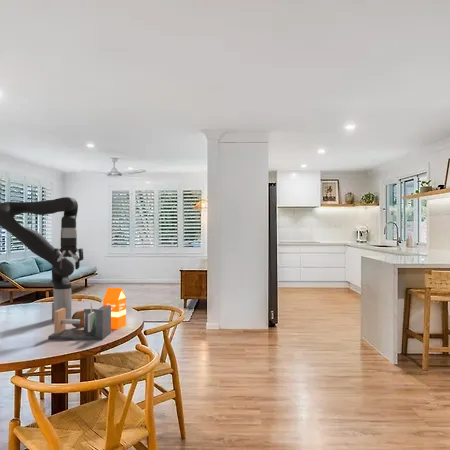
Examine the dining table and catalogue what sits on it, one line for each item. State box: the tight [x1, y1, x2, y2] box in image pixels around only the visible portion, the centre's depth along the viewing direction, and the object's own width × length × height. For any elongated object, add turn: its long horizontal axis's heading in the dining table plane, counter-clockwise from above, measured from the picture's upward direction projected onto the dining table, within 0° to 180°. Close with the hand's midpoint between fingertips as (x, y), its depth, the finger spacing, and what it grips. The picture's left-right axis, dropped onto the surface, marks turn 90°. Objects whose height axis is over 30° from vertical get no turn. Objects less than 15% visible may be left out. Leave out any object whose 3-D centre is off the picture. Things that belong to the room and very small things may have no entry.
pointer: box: [88, 302, 95, 332], centre depth 183 cm, size 1×6×13 cm, turn 178°
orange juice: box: [102, 287, 127, 330], centre depth 202 cm, size 8×9×20 cm
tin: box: [71, 309, 84, 329], centre depth 203 cm, size 15×3×8 cm, turn 148°
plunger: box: [53, 308, 80, 333], centre depth 183 cm, size 10×8×10 cm
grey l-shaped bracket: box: [47, 305, 112, 341], centre depth 184 cm, size 25×12×14 cm, turn 88°
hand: (68, 269), depth 198 cm, fingers open, 8 cm apart
